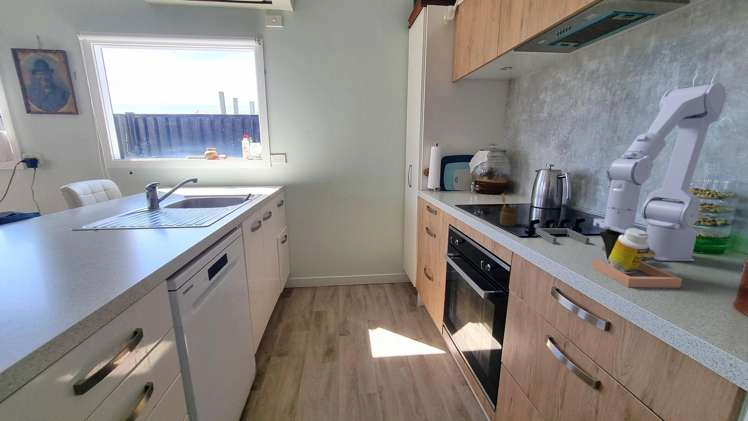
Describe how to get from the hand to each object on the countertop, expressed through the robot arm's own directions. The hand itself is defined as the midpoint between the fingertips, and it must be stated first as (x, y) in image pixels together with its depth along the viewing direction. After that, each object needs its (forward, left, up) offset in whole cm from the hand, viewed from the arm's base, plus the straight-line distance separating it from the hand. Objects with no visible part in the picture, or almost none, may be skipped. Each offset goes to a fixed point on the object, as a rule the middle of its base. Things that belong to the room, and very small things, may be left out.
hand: (612, 260), depth 74 cm
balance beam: (-9, -8, +3) cm, 13 cm away
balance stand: (-9, -8, -1) cm, 12 cm away
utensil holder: (+10, -41, -2) cm, 42 cm away
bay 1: (0, -22, -1) cm, 22 cm away
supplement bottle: (0, +3, -1) cm, 3 cm away
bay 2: (0, +6, -1) cm, 6 cm away
